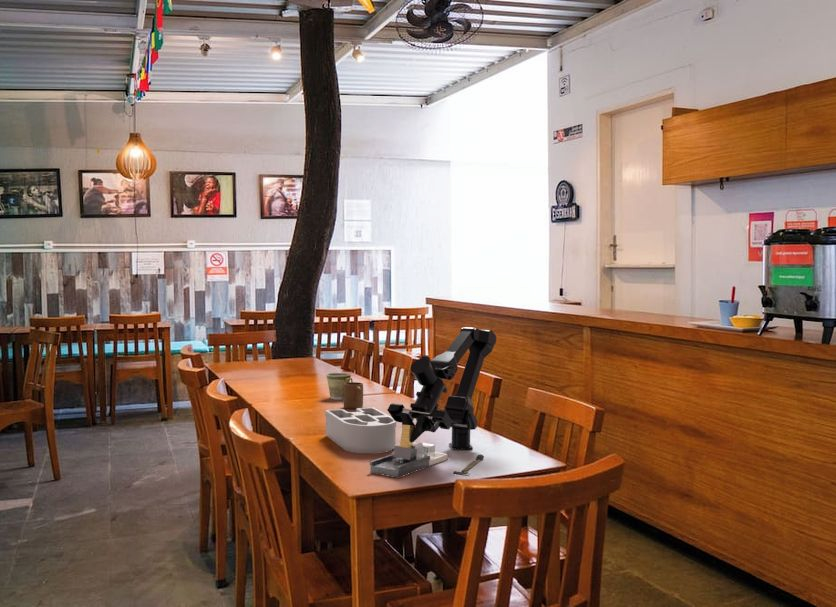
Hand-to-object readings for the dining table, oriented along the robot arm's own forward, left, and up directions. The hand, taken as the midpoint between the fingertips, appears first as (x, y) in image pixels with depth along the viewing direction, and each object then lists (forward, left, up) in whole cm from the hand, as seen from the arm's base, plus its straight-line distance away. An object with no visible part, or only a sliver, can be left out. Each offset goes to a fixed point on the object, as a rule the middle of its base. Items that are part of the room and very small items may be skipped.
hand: (407, 441), depth 217 cm
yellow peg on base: (+1, -1, -5) cm, 5 cm away
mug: (-89, -11, -8) cm, 90 cm away
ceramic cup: (-111, -16, -8) cm, 112 cm away
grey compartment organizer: (-30, -11, -8) cm, 32 cm away
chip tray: (-7, +6, -7) cm, 12 cm away
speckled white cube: (-6, +5, -5) cm, 9 cm away
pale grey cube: (-2, +2, -5) cm, 6 cm away
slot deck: (+2, -2, -7) cm, 8 cm away
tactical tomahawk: (0, +19, -8) cm, 21 cm away
